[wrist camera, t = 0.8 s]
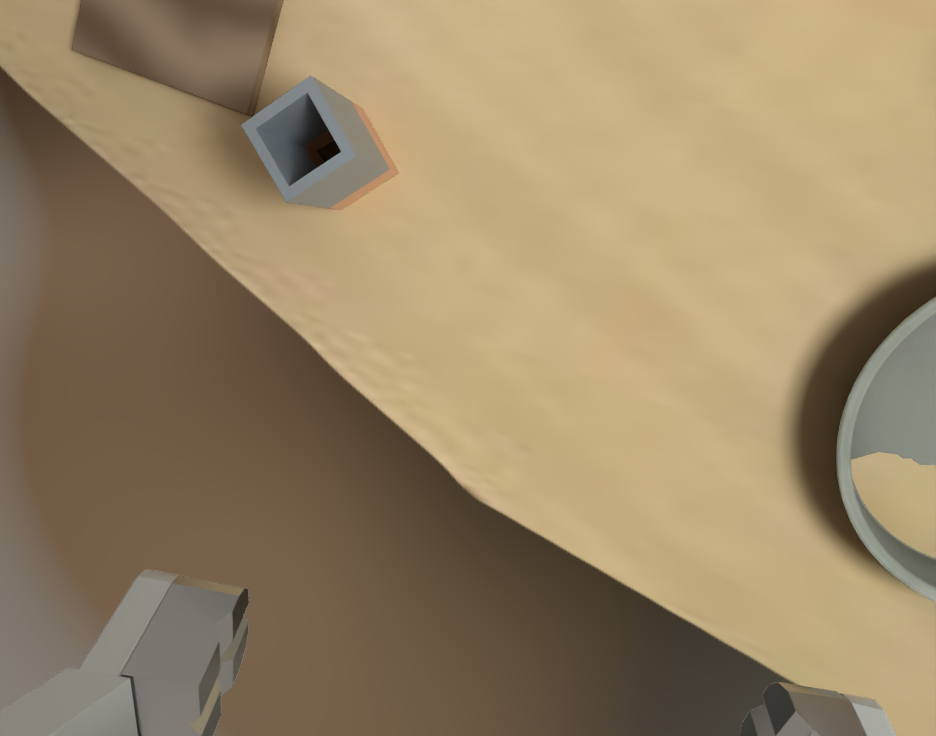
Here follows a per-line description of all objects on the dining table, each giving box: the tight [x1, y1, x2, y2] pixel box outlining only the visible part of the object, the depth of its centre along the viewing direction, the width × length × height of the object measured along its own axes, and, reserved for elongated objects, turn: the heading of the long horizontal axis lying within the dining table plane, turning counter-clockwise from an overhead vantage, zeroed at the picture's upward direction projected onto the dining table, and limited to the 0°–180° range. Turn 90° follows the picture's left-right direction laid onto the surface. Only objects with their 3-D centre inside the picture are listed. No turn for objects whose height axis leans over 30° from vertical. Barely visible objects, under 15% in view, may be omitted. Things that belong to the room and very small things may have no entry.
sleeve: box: [241, 76, 399, 210], centre depth 45 cm, size 5×5×10 cm
